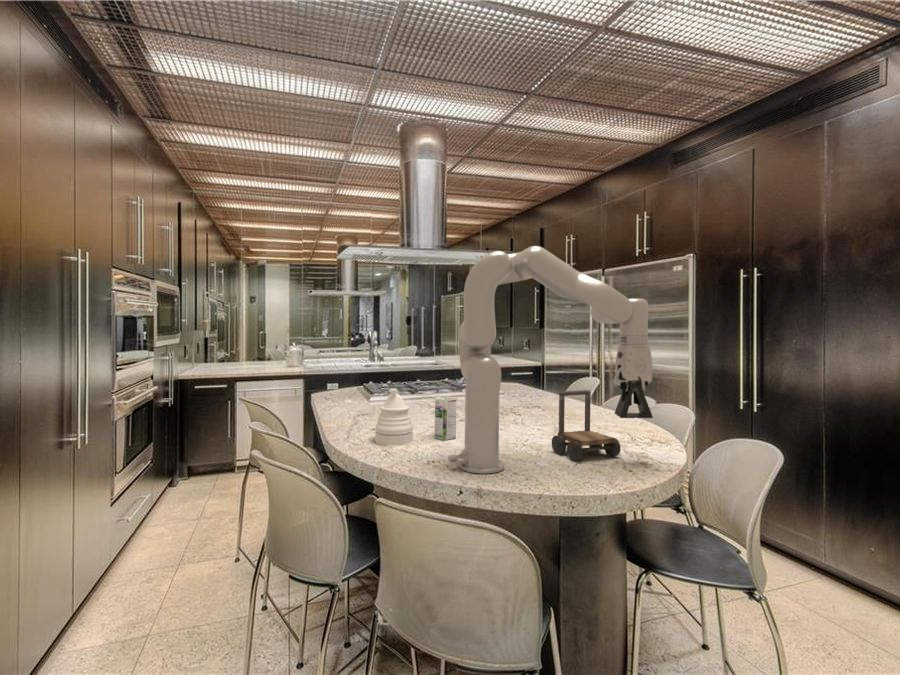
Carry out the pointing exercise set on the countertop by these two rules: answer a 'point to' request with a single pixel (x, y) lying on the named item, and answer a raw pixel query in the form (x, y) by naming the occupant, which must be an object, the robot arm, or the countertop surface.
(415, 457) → the countertop surface
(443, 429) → the syrup box
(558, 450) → the trolley
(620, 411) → the dark brown a-frame stand
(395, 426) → the honey pot
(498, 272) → the robot arm
